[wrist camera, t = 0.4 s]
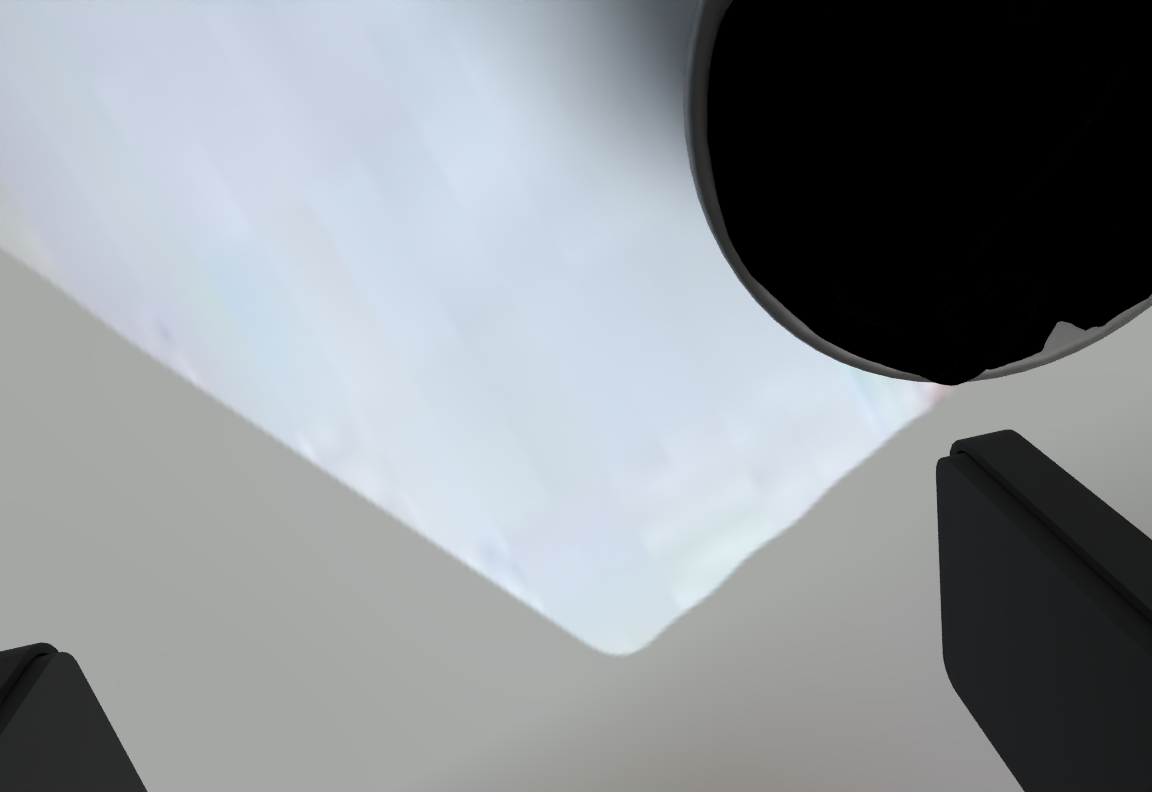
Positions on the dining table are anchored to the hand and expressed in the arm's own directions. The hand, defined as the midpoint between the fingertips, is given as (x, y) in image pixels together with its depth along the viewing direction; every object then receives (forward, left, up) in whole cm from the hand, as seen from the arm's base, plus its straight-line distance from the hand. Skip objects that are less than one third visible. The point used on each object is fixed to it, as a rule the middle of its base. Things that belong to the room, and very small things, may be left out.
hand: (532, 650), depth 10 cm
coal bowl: (-1, +16, -31) cm, 35 cm away
